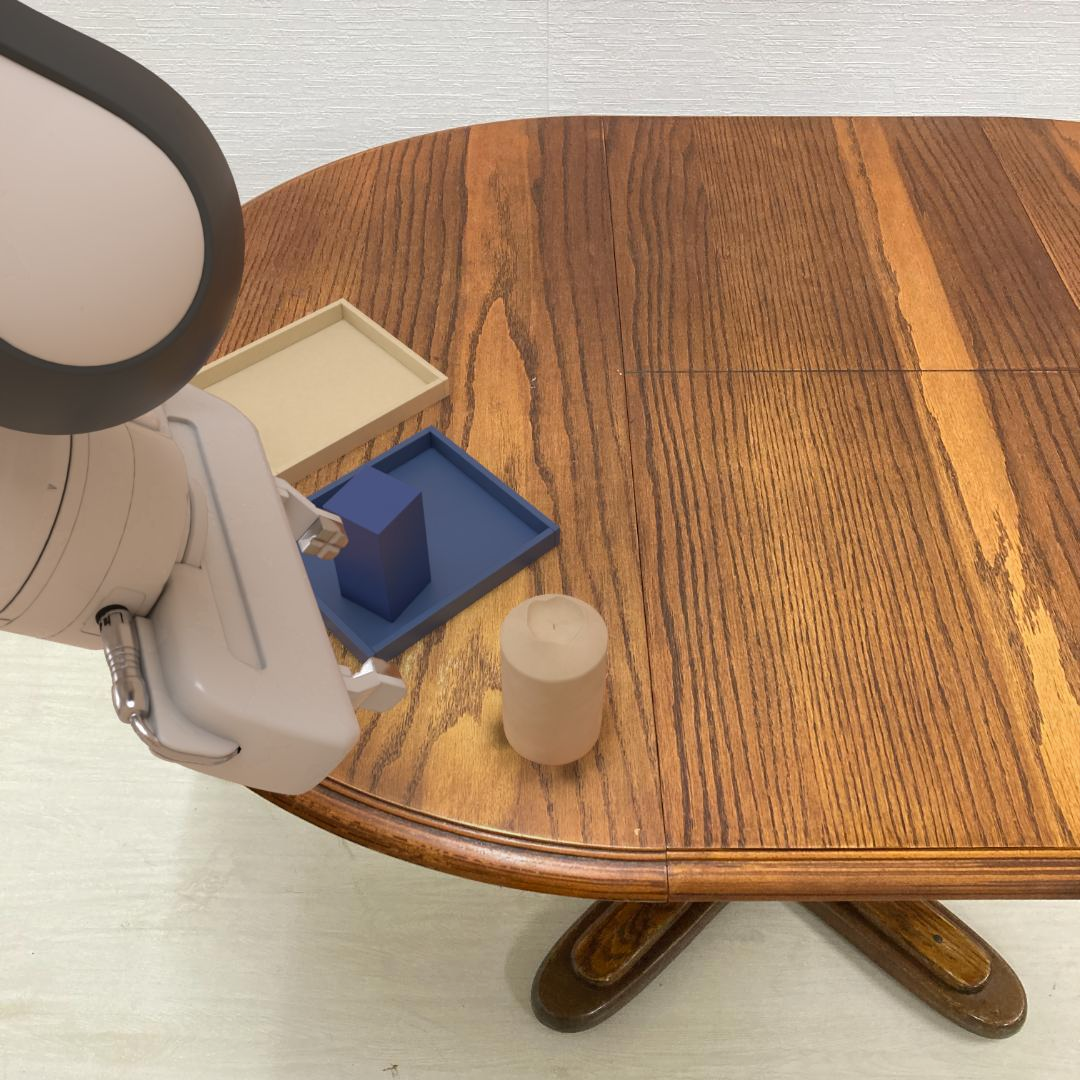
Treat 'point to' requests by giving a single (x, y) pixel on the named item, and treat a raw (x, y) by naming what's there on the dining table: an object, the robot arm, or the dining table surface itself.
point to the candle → (553, 678)
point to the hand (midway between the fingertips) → (364, 610)
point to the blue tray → (437, 544)
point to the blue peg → (381, 543)
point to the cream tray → (323, 387)
